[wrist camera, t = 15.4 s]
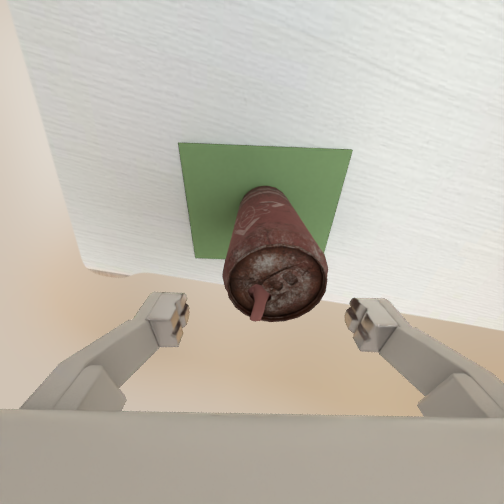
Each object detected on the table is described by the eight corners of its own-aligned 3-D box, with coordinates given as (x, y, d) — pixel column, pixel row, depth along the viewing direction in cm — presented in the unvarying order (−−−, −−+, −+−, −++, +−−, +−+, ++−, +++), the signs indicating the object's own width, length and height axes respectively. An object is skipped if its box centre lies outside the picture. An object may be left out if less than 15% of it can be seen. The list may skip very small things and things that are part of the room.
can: (234, 229, 23) (212, 320, 11) (245, 178, 20) (230, 226, 8) (279, 240, 24) (305, 336, 12) (296, 192, 20) (357, 255, 8)
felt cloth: (196, 256, 26) (195, 258, 25) (179, 142, 18) (177, 142, 18) (320, 261, 26) (321, 262, 25) (351, 149, 19) (352, 149, 18)
